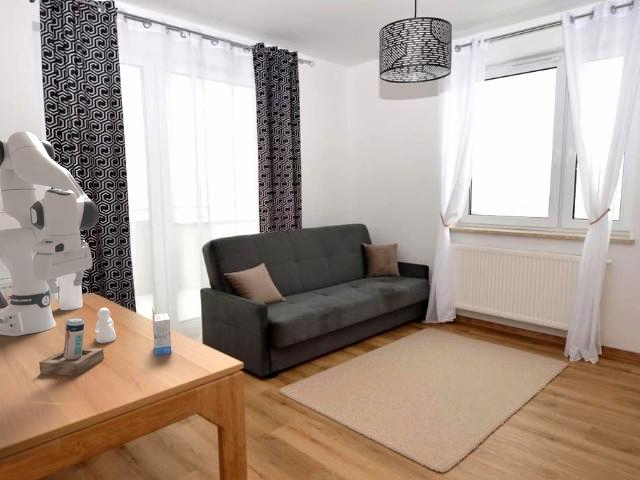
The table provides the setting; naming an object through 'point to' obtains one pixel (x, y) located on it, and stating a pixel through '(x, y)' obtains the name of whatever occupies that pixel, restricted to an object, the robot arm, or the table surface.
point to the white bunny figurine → (105, 327)
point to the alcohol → (69, 293)
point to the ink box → (161, 333)
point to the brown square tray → (71, 362)
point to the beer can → (74, 338)
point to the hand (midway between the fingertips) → (66, 289)
